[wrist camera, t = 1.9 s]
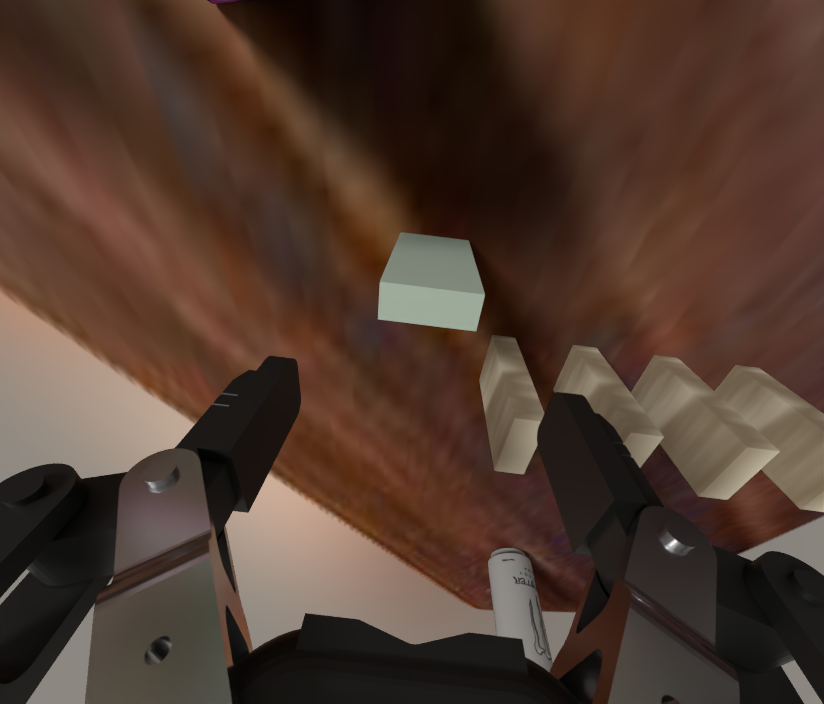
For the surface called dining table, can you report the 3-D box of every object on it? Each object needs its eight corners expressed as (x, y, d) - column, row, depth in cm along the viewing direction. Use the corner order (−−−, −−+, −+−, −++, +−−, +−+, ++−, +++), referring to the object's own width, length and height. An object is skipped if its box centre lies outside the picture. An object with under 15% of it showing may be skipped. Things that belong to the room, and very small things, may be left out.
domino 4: (677, 357, 28) (780, 451, 19) (648, 401, 31) (727, 499, 22) (654, 355, 28) (747, 447, 19) (626, 398, 31) (698, 496, 22)
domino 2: (515, 337, 28) (547, 422, 19) (500, 383, 31) (523, 474, 22) (491, 334, 28) (514, 418, 19) (479, 380, 31) (494, 470, 22)
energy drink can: (537, 558, 48) (572, 708, 35) (502, 569, 50) (524, 713, 38) (513, 541, 45) (542, 694, 33) (478, 553, 48) (493, 700, 35)
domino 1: (400, 232, 24) (379, 281, 15) (468, 240, 24) (485, 294, 15) (398, 259, 25) (377, 319, 16) (463, 267, 25) (476, 331, 16)
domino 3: (596, 347, 28) (664, 436, 19) (574, 392, 31) (625, 487, 22) (573, 344, 28) (630, 432, 19) (553, 389, 31) (596, 483, 22)
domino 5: (758, 368, 28) (896, 465, 19) (722, 410, 30) (829, 512, 22) (735, 365, 28) (863, 461, 19) (701, 408, 30) (800, 508, 22)
